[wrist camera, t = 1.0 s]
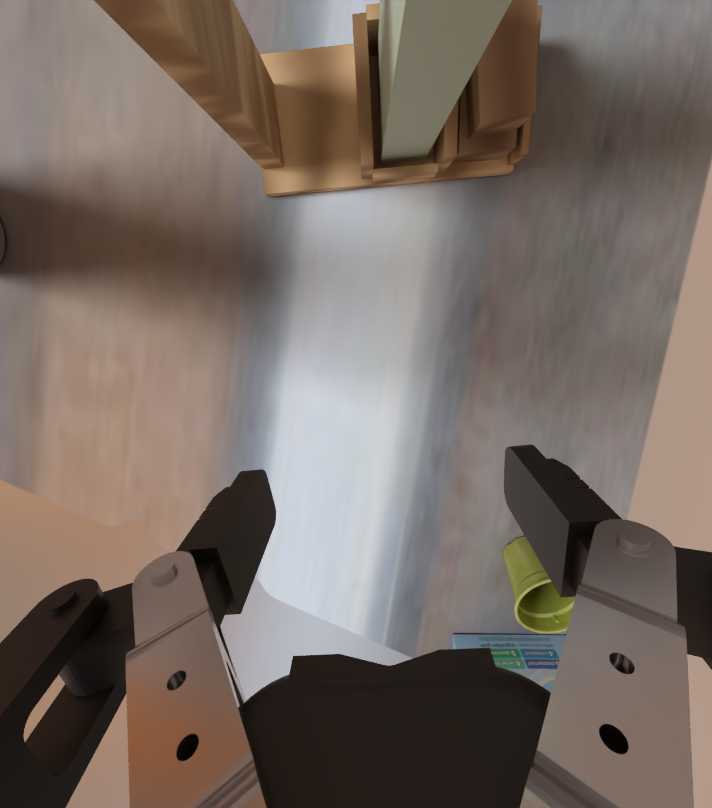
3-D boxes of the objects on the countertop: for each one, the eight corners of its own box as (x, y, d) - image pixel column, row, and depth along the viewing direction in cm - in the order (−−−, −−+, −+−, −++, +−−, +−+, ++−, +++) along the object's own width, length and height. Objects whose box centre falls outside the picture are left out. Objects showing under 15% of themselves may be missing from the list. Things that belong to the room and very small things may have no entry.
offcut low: (450, 163, 31) (458, 153, 28) (452, 48, 28) (462, 23, 25) (501, 159, 31) (515, 147, 28) (509, 41, 28) (526, 16, 25)
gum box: (449, 651, 57) (500, 878, 36) (452, 630, 55) (507, 857, 34) (566, 653, 56) (689, 885, 35) (573, 632, 55) (707, 864, 33)
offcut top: (468, 138, 28) (480, 124, 25) (463, 36, 25) (475, 7, 23) (518, 127, 27) (536, 111, 24) (518, 22, 25) (537, -9, 22)
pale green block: (380, 164, 31) (438, -218, 7) (376, 64, 28) (446, -1125, 4) (424, 159, 31) (648, -249, 7) (424, 59, 28) (792, -1227, 4)
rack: (268, 196, 33) (87, 59, 12) (248, 64, 29) (-69, -499, 8) (508, 174, 32) (805, -24, 10) (518, 33, 28) (1012, -723, 7)
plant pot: (553, 574, 50) (590, 632, 42) (489, 577, 51) (512, 636, 43) (561, 523, 47) (602, 576, 39) (492, 528, 47) (518, 581, 39)
